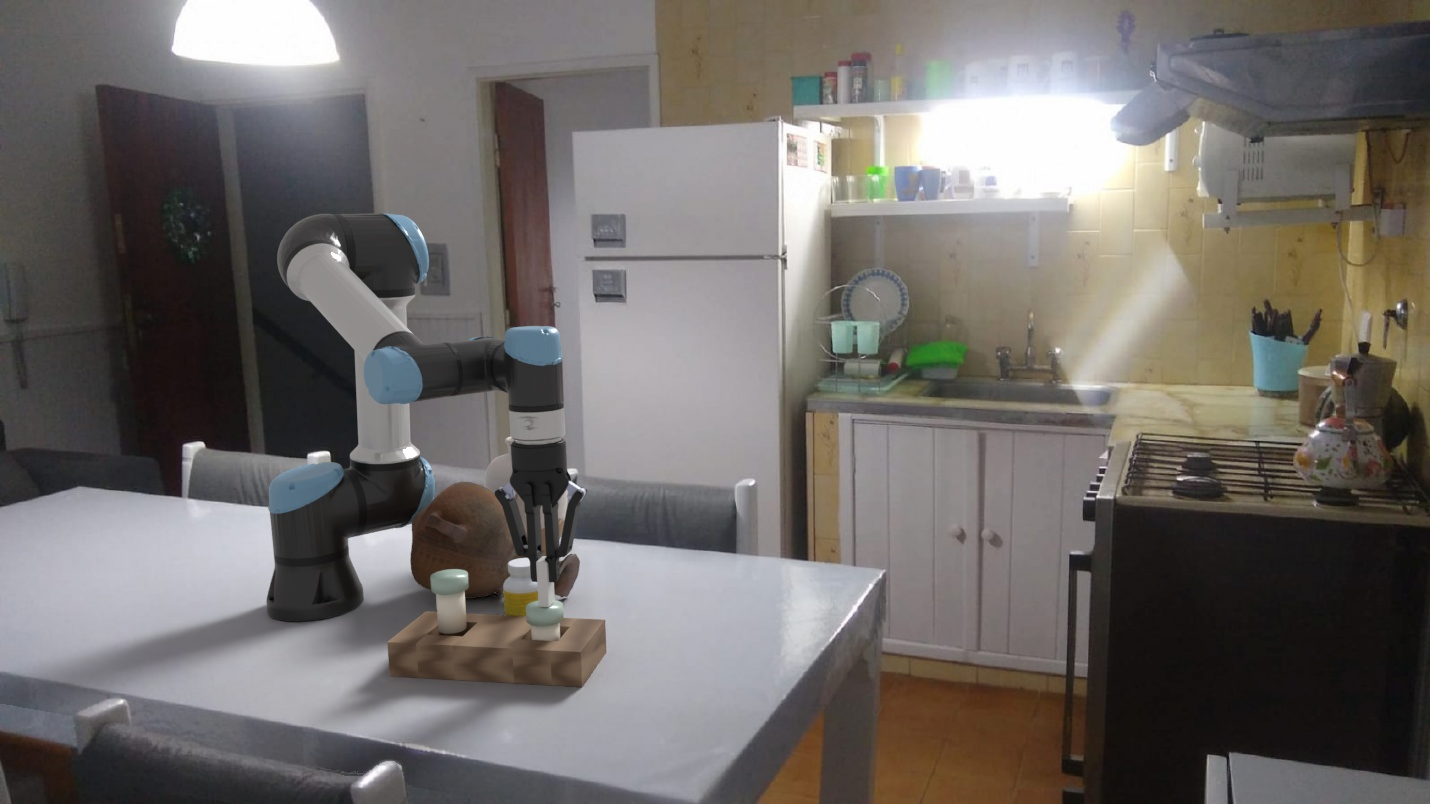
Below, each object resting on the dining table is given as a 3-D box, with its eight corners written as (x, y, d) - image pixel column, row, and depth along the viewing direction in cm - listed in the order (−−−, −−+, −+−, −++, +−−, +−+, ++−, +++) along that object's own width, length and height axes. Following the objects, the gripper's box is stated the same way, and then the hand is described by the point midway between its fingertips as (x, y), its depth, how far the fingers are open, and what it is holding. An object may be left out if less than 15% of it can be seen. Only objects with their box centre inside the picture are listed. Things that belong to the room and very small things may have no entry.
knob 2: (523, 666, 146) (520, 611, 144) (535, 651, 151) (533, 598, 149) (558, 668, 145) (556, 613, 143) (570, 653, 150) (567, 600, 149)
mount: (389, 676, 146) (387, 642, 145) (427, 643, 157) (425, 611, 157) (582, 687, 141) (580, 652, 140) (606, 652, 152) (605, 619, 152)
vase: (563, 538, 211) (558, 427, 207) (578, 560, 196) (573, 441, 192) (483, 546, 206) (477, 433, 202) (493, 570, 191) (486, 448, 188)
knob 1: (427, 634, 147) (423, 580, 146) (443, 621, 152) (439, 568, 151) (462, 636, 146) (458, 581, 145) (476, 622, 152) (473, 569, 150)
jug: (385, 603, 176) (539, 650, 166) (375, 502, 168) (536, 544, 159) (455, 546, 194) (598, 586, 184) (449, 452, 186) (598, 488, 176)
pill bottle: (539, 644, 156) (535, 570, 154) (499, 642, 157) (494, 568, 155) (554, 628, 162) (551, 556, 160) (515, 626, 164) (511, 554, 162)
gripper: (482, 444, 140) (492, 611, 144) (575, 444, 138) (583, 614, 142) (502, 433, 148) (512, 593, 151) (591, 434, 146) (598, 596, 149)
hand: (546, 603), depth 147 cm, fingers closed
